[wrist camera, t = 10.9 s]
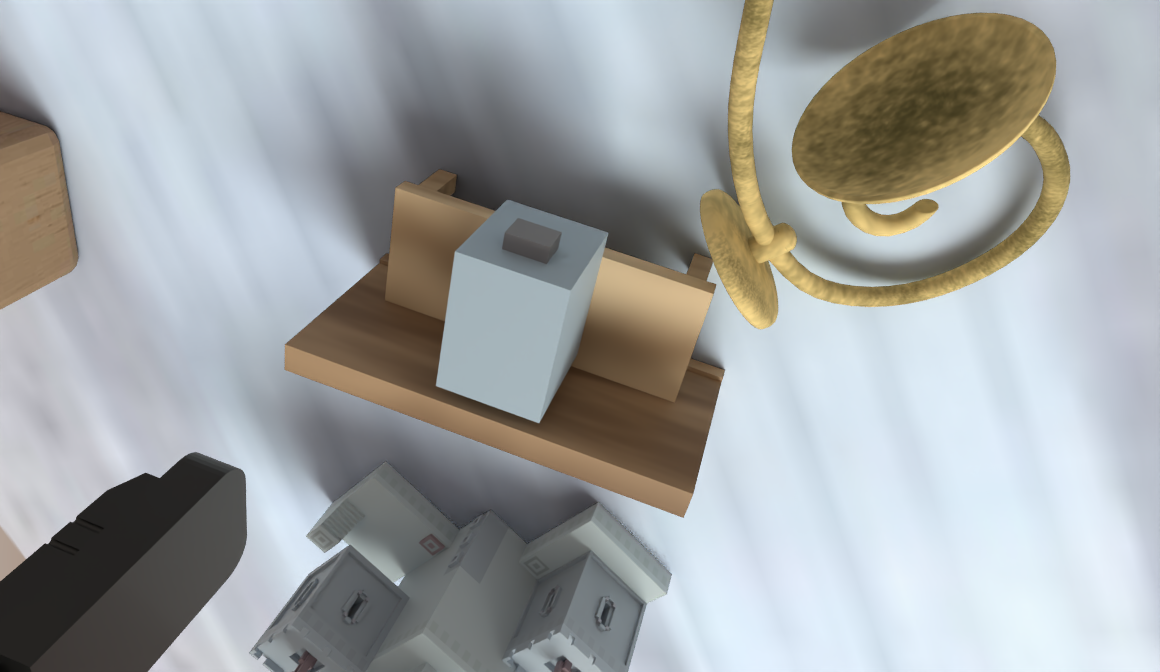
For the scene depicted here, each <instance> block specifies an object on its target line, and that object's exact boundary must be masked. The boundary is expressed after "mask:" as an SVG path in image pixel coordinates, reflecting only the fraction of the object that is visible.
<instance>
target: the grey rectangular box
mask: <svg viewBox="0 0 1160 672" xmlns="http://www.w3.org/2000/svg"><path fill="white" fill-rule="evenodd" d="M607 237H608V232H605V231H602V230H599V229H596V228H593V227H590V226H587V225H584V224H581V223H578V222H575V221H572V220H569V219H566V218H562V217H559V216H556V215H553V214H550V213H547V212H544V211H541V210H538V209H535V208H532V207H529V206H526V205H523V204H520V203H517V202H514V201H510V200H506V201H505V202H504V203H503V204H502V205H501V206H500V207H499V208H498V209H497V210H496V211H495V212H494V213H493V214H492V215H491V216H490V217H489V218H488V219H487V220H486V221H485V222H484V223H483V224H482V225H481V226H480V227H479V228H478V229H477V230H476V231H475V232H474V233H473V234H472V235H471V236H470V237H469V238H468V239H467V240H466V241H465V242H464V243H463V244H462V245H461V246H460V247H459V248H458V249H457V250H456V251H455V255H454V262H453V269H452V276H451V283H450V290H449V297H448V304H447V311H446V318H445V325H444V332H443V339H442V346H441V353H440V360H439V367H438V375H437V382H436V386H437V387H440V388H443V389H446V390H448V391H451V392H454V393H457V394H459V395H462V396H465V397H468V398H470V399H473V400H476V401H479V402H482V403H484V404H487V405H490V406H493V407H495V408H498V409H501V410H504V411H506V412H509V413H512V414H515V415H517V416H520V417H523V418H526V419H529V420H531V421H534V422H537V423H540V421H541V419H542V417H543V415H544V414H545V412H546V410H547V408H548V406H549V405H550V403H551V401H552V399H553V397H554V396H555V394H556V392H557V390H558V388H559V387H560V385H561V383H562V381H563V379H564V378H565V376H566V374H567V372H568V370H569V369H570V367H571V365H572V363H573V361H574V360H575V358H576V356H577V353H578V349H579V346H580V342H581V338H582V334H583V330H584V326H585V322H586V318H587V315H588V311H589V307H590V303H591V299H592V295H593V291H594V287H595V283H596V280H597V276H598V272H599V268H600V264H601V260H602V256H603V252H604V248H605V245H606V241H607Z"/></svg>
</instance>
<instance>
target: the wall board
mask: <svg viewBox="0 0 1160 672" xmlns="http://www.w3.org/2000/svg"><path fill="white" fill-rule="evenodd" d="M456 178H457V175H456V174H453V173H450V172H447V171H444V170H440V169H439V170H438V171H436V172H435V173H434V174H432V175H431V176H430V177H428V178H427V179H426V180H424V181H423V182H422V183H420V184H419V185H416V184H413V183H410V182H407V181H404V182H403V183H401V184H400V185H399V186H397V187H396V188H395V199H394V209H393V220H392V230H391V241H390V251H389V254H387V253H386V254H385V255H384V256H383V257H382V258H381V259H380V263H379V264H378V265H377V266H375V267H374V268H373V269H372V270H371V271H370V272H369V273H367V274H366V275H365V276H364V277H363V278H362V279H360V280H359V281H358V282H357V283H356V284H355V285H353V286H352V287H351V288H350V289H349V290H348V291H346V292H345V293H344V294H343V295H342V296H341V297H340V298H338V299H337V300H336V301H335V302H334V303H333V304H331V305H330V306H329V307H328V308H327V309H326V310H324V311H323V312H322V313H321V314H320V315H319V316H317V317H316V318H315V319H314V320H313V321H312V322H311V323H309V324H308V325H307V326H306V327H305V328H304V329H302V330H301V331H300V332H299V333H298V334H297V335H295V336H294V337H293V338H292V339H291V340H290V341H288V342H287V343H286V344H285V370H287V371H289V372H292V373H295V374H298V375H300V376H303V377H306V378H308V379H311V380H314V381H316V382H319V383H322V384H325V385H327V386H330V387H333V388H335V389H338V390H341V391H343V392H346V393H349V394H351V395H354V396H357V397H360V398H362V399H365V400H368V401H370V402H373V403H376V404H378V405H381V406H384V407H386V408H389V409H392V410H395V411H397V412H400V413H403V414H405V415H408V416H411V417H413V418H416V419H419V420H422V421H424V422H427V423H430V424H432V425H435V426H438V427H440V428H443V429H446V430H448V431H451V432H454V433H457V434H459V435H462V436H465V437H467V438H470V439H473V440H475V441H478V442H481V443H483V444H486V445H489V446H492V447H494V448H497V449H500V450H502V451H505V452H508V453H510V454H513V455H516V456H519V457H521V458H524V459H527V460H529V461H532V462H535V463H537V464H540V465H543V466H545V467H548V468H551V469H554V470H556V471H559V472H562V473H564V474H567V475H570V476H572V477H575V478H578V479H580V480H583V481H586V482H589V483H591V484H594V485H597V486H599V487H602V488H605V489H607V490H610V491H613V492H615V493H618V494H621V495H624V496H626V497H629V498H632V499H634V500H637V501H640V502H642V503H645V504H648V505H651V506H653V507H656V508H659V509H661V510H664V511H667V512H669V513H672V514H675V515H677V516H680V517H683V518H684V515H685V513H686V510H687V508H688V505H689V503H690V500H691V498H692V496H693V492H694V489H695V485H696V481H697V477H698V473H699V469H700V465H701V461H702V457H703V453H704V449H705V445H706V441H707V437H708V433H709V429H710V425H711V421H712V417H713V413H714V409H715V405H716V401H717V397H718V393H719V389H720V386H721V382H722V379H723V376H724V372H725V370H723V369H720V368H717V367H714V366H711V365H708V364H706V363H703V362H700V361H697V360H694V359H691V355H692V353H693V350H694V347H695V344H696V341H697V339H698V336H699V333H700V330H701V327H702V325H703V322H704V319H705V316H706V313H707V311H708V308H709V305H710V302H711V300H712V297H713V294H714V291H715V288H716V284H713V283H710V282H707V278H708V275H709V272H710V269H711V266H712V263H713V260H712V259H711V258H708V257H705V256H702V255H699V254H696V253H695V254H694V256H693V259H692V261H691V264H690V266H689V269H688V271H687V274H683V273H680V272H677V271H674V270H671V269H668V268H665V267H662V266H659V265H656V264H653V263H650V262H647V261H644V260H641V259H638V258H635V257H632V256H629V255H626V254H623V253H620V252H617V251H614V250H611V249H608V248H604V252H603V256H602V260H601V264H600V268H599V272H598V276H597V280H596V283H595V287H594V291H593V295H592V299H591V303H590V307H589V311H588V315H587V318H586V322H585V326H584V330H583V334H582V338H581V342H580V346H579V349H578V353H577V356H576V358H575V360H574V361H573V363H572V365H571V367H570V369H569V370H568V372H567V374H566V376H565V378H564V379H563V381H562V383H561V385H560V387H559V388H558V390H557V392H556V394H555V396H554V397H553V399H552V401H551V403H550V405H549V406H548V408H547V410H546V412H545V414H544V415H543V417H542V419H541V421H540V423H537V422H534V421H531V420H529V419H526V418H523V417H520V416H517V415H515V414H512V413H509V412H506V411H504V410H501V409H498V408H495V407H493V406H490V405H487V404H484V403H482V402H479V401H476V400H473V399H470V398H468V397H465V396H462V395H459V394H457V393H454V392H451V391H448V390H446V389H443V388H440V387H437V386H436V382H437V375H438V367H439V360H440V353H441V346H442V339H443V332H444V325H445V318H446V311H447V304H448V297H449V290H450V283H451V276H452V269H453V262H454V255H455V251H456V250H457V249H458V248H459V247H460V246H461V245H462V244H463V243H464V242H465V241H466V240H467V239H468V238H469V237H470V236H471V235H472V234H473V233H474V232H475V231H476V230H477V229H478V228H479V227H480V226H481V225H482V224H483V223H484V222H485V221H486V220H487V219H488V218H489V217H490V216H491V215H492V214H493V213H494V212H495V211H494V210H491V209H488V208H485V207H482V206H479V205H476V204H473V203H470V202H467V201H464V200H461V199H458V198H455V197H452V196H451V195H452V194H453V193H454V192H455V185H456Z"/></svg>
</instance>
